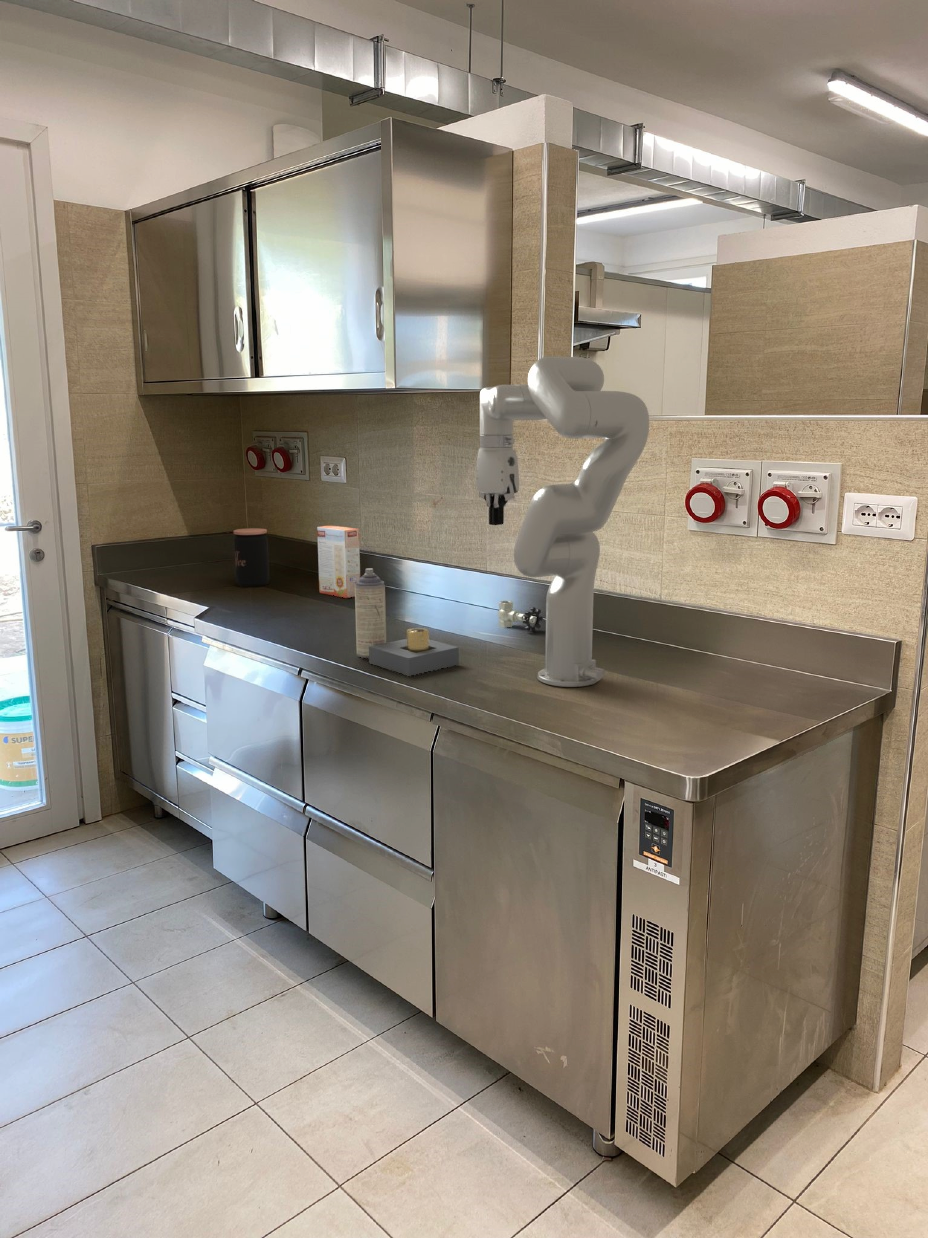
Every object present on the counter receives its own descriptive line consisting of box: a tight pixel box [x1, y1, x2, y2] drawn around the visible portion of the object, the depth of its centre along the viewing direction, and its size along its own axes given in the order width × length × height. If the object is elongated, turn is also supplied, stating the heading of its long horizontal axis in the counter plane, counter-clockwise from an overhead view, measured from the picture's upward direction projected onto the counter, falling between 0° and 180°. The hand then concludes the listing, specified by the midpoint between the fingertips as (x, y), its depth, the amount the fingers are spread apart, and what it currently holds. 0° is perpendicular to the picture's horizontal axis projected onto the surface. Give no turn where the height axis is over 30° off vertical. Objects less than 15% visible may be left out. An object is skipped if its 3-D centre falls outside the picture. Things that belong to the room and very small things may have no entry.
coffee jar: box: [233, 527, 270, 588], centre depth 300 cm, size 11×11×18 cm
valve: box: [497, 600, 544, 634], centre depth 237 cm, size 7×7×12 cm
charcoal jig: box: [368, 638, 460, 677], centre depth 203 cm, size 14×14×4 cm
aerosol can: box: [354, 567, 387, 659], centre depth 209 cm, size 7×7×20 cm
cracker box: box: [316, 525, 361, 599], centre depth 282 cm, size 14×6×21 cm, turn 44°
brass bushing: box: [406, 627, 430, 653], centre depth 201 cm, size 5×5×8 cm
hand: (496, 524), depth 212 cm, fingers closed
